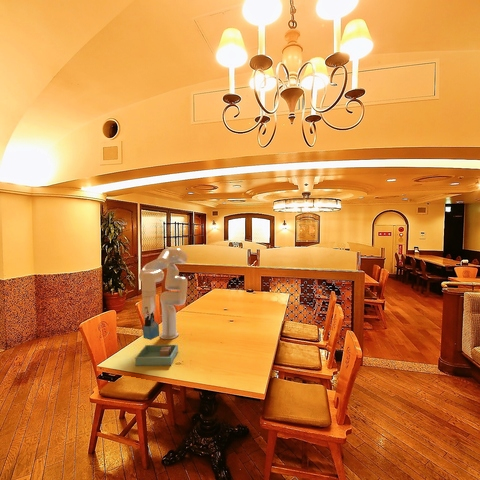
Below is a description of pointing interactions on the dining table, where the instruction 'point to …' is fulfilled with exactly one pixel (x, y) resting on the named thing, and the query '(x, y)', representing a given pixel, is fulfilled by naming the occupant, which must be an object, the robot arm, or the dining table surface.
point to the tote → (155, 356)
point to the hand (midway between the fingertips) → (149, 323)
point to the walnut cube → (165, 352)
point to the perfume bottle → (151, 330)
